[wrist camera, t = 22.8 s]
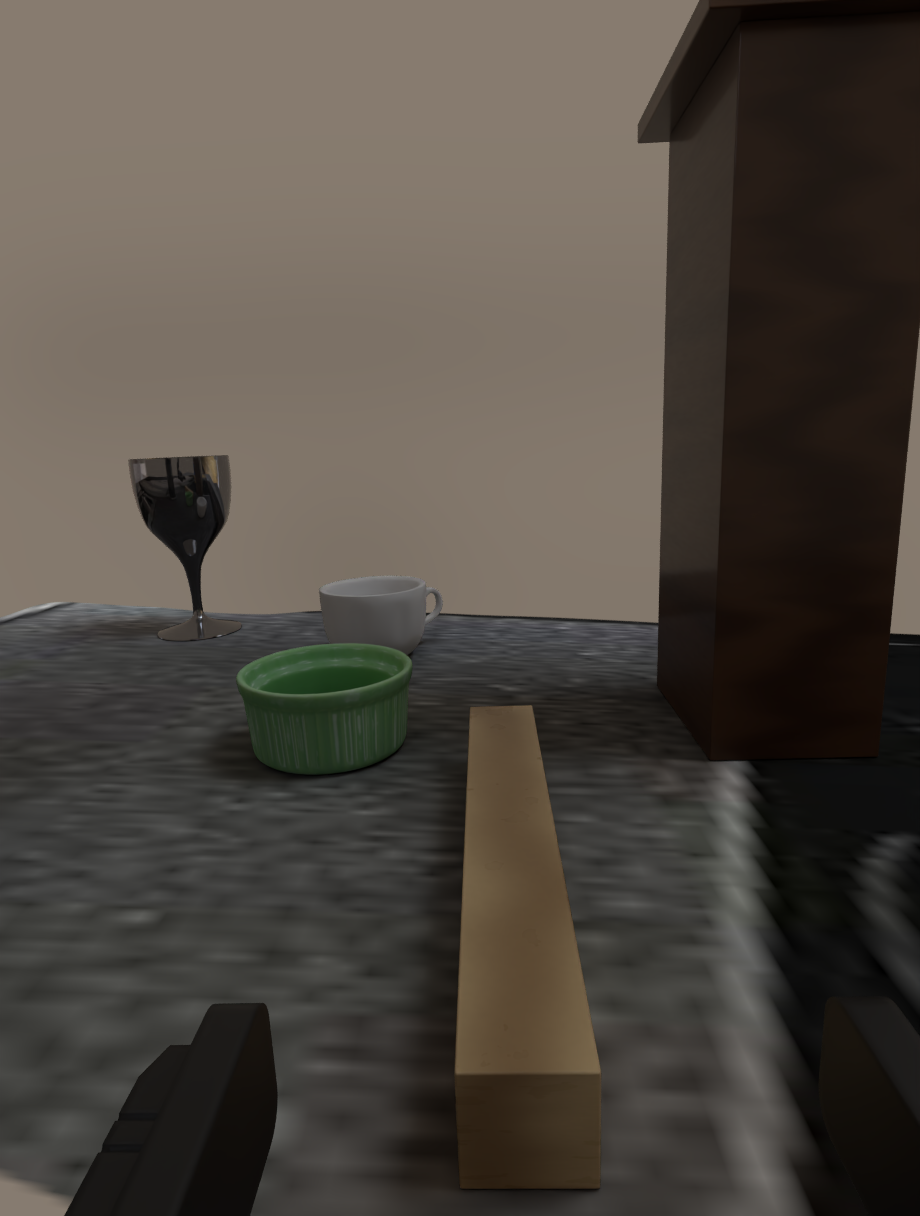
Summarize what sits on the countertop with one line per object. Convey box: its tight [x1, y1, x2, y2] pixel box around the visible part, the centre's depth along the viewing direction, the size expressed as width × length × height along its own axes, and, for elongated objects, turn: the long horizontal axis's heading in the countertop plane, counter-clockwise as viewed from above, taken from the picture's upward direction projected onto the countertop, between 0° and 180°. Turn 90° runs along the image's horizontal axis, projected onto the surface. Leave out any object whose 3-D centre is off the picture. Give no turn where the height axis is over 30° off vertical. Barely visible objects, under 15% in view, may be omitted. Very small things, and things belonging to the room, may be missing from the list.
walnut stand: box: [638, 0, 920, 760], centre depth 37 cm, size 11×13×32 cm
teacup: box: [319, 576, 443, 655], centre depth 55 cm, size 10×8×5 cm
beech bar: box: [454, 705, 601, 1189], centre depth 25 cm, size 3×21×3 cm, turn 178°
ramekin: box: [236, 643, 412, 775], centre depth 38 cm, size 9×9×4 cm
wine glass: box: [128, 455, 242, 641], centre depth 63 cm, size 8×8×15 cm
